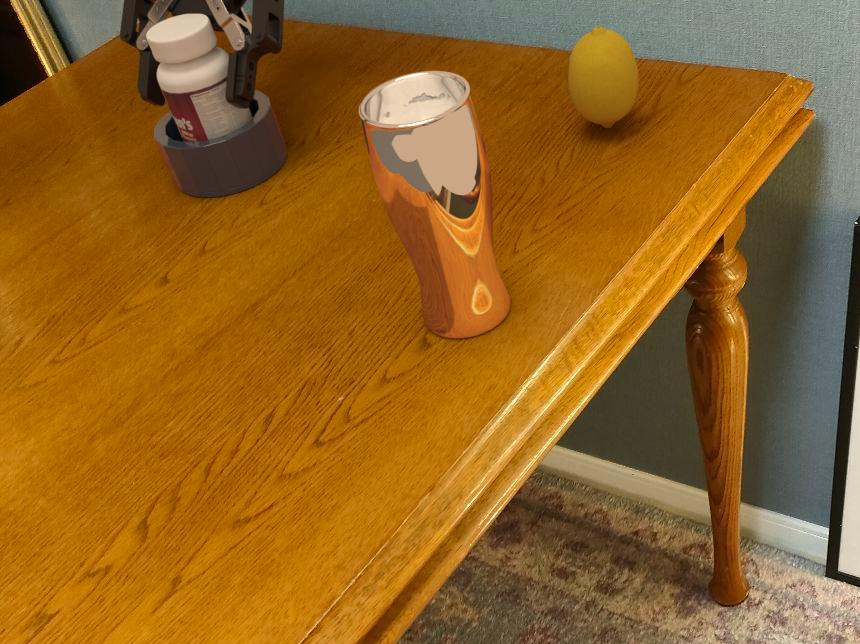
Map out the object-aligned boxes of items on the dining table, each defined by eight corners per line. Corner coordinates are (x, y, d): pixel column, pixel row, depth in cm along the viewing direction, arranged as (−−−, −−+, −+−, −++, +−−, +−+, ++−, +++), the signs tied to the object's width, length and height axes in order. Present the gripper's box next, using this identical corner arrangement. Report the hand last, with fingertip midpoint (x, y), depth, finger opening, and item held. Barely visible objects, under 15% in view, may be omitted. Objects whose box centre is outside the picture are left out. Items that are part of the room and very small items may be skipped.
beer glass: (493, 349, 65) (442, 131, 54) (400, 337, 68) (332, 125, 56) (532, 286, 69) (492, 70, 58) (443, 276, 72) (388, 67, 60)
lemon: (567, 144, 81) (553, 44, 75) (585, 110, 85) (573, 12, 79) (633, 145, 80) (624, 43, 74) (649, 110, 83) (642, 10, 77)
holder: (153, 188, 87) (129, 139, 84) (227, 131, 92) (208, 83, 89) (236, 205, 83) (215, 154, 80) (310, 144, 88) (293, 94, 85)
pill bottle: (186, 163, 88) (127, 31, 80) (247, 134, 90) (196, 3, 82) (213, 187, 85) (154, 51, 76) (276, 156, 86) (226, 21, 78)
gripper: (107, -127, 79) (91, 86, 81) (258, -137, 74) (237, 90, 76) (172, -78, 86) (156, 117, 88) (314, -85, 81) (293, 121, 83)
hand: (194, 104), depth 82 cm, fingers open, 8 cm apart
